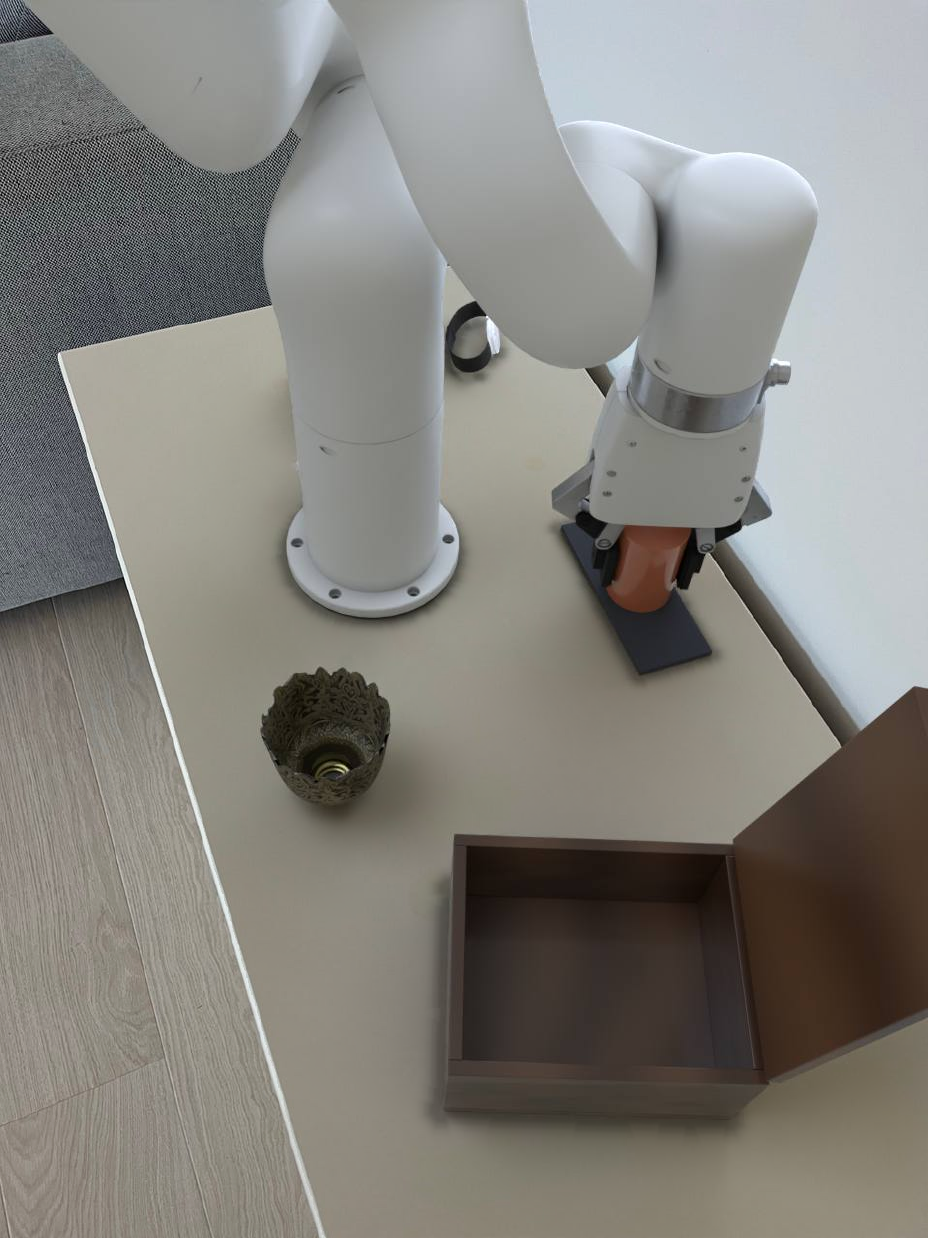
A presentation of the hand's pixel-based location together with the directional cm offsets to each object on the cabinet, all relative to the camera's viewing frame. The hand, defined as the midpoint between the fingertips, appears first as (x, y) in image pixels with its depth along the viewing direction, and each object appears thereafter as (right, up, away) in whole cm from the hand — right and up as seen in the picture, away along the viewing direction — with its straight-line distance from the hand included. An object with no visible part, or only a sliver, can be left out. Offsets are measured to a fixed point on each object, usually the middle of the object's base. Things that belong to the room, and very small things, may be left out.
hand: (642, 571), depth 77 cm
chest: (-6, -25, -16) cm, 30 cm away
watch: (-12, +20, +17) cm, 29 cm away
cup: (-21, -14, -8) cm, 27 cm away
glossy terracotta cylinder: (0, -1, +1) cm, 2 cm away
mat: (0, -1, +2) cm, 2 cm away
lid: (+4, -16, -29) cm, 33 cm away
